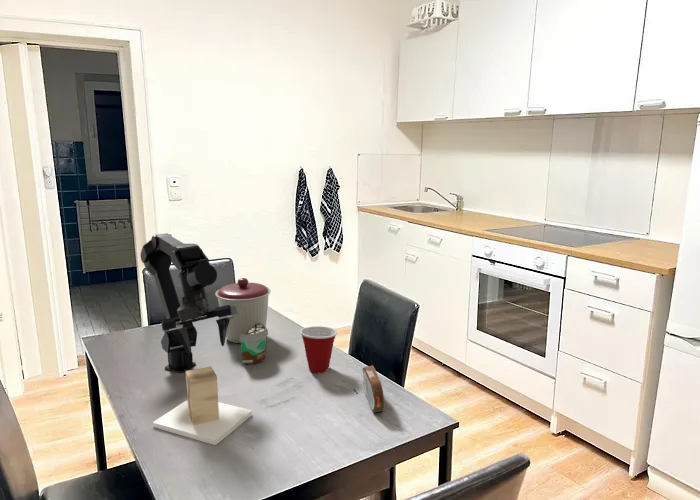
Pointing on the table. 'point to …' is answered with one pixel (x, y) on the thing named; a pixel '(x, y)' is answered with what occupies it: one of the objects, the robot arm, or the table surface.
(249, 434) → the table surface
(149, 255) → the robot arm
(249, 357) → the food container
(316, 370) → the plastic cup
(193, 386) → the wooden block
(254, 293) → the canister
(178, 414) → the cutting board
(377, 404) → the tin
